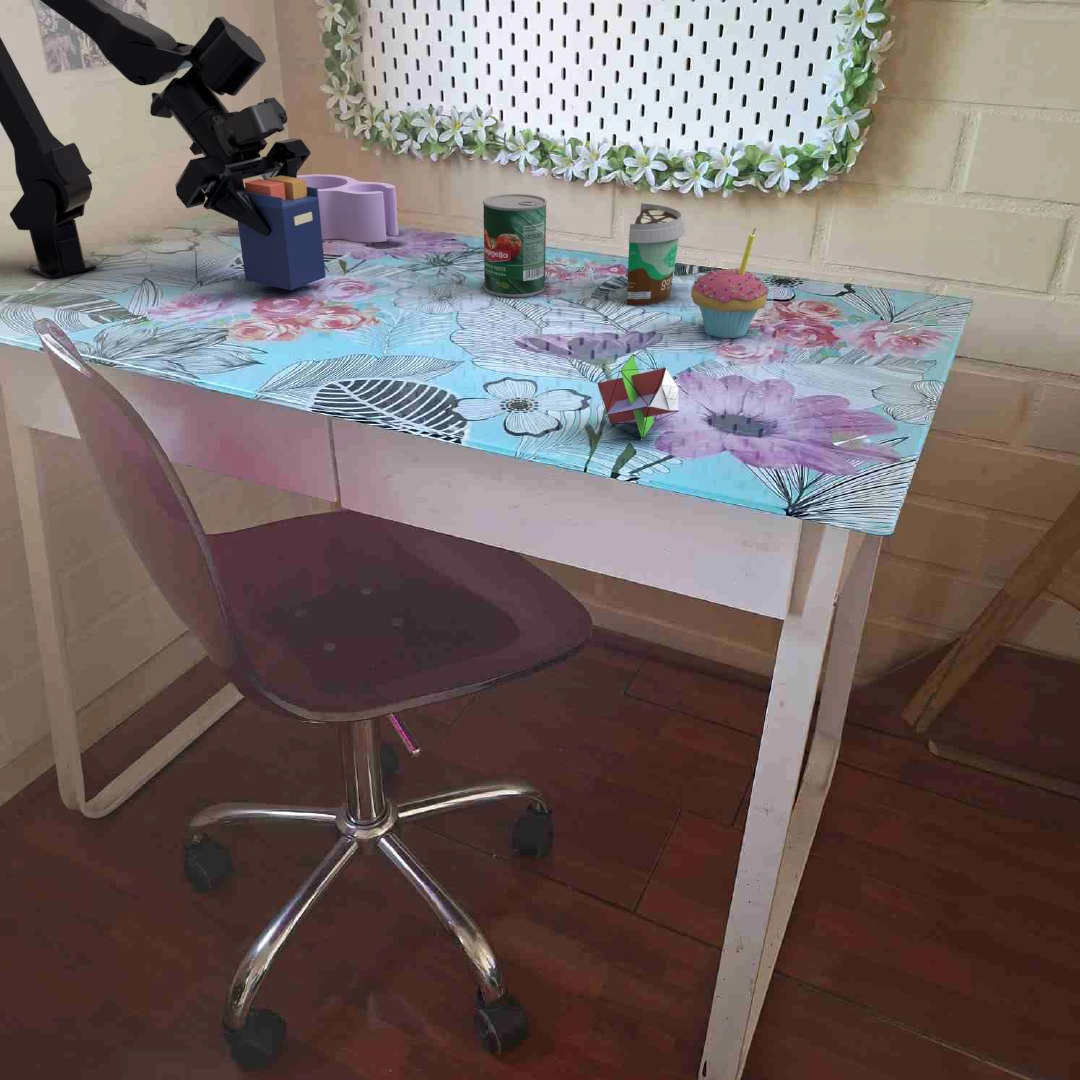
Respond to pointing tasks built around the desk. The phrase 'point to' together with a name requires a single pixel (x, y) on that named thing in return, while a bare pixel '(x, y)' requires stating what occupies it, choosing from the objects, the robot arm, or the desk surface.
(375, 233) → the clip
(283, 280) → the blue storage box
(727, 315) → the cupcake
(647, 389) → the geometric puzzle
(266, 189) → the block
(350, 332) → the desk surface
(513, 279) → the canned tomato
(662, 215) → the food container
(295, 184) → the snack bar tan
